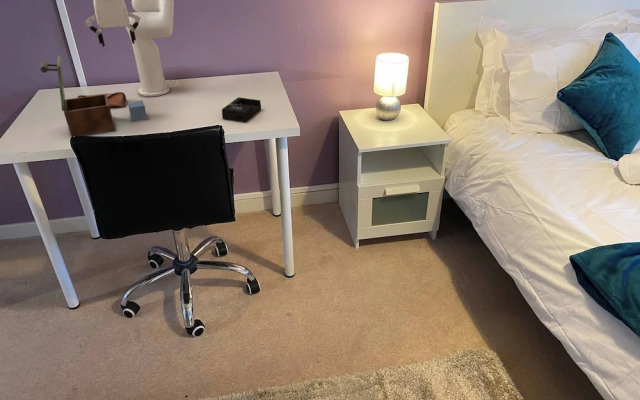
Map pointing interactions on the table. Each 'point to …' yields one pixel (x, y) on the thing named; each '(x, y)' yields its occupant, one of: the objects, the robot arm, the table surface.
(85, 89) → the table surface
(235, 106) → the battery charger
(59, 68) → the lid
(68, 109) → the chest
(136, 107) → the block
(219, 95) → the table surface
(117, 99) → the sunglasses case
